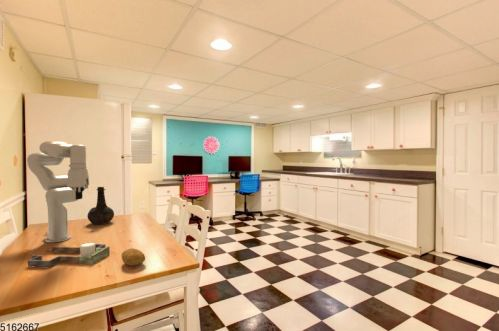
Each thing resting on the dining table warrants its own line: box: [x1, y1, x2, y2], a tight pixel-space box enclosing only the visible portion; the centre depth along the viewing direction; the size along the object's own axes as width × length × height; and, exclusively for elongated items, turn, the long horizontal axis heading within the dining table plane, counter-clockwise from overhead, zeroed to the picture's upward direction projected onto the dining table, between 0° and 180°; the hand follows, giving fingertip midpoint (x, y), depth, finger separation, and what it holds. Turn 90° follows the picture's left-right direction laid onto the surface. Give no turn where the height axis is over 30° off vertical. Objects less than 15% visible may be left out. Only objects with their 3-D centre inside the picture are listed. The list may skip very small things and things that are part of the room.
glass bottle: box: [87, 186, 115, 226], centre depth 198 cm, size 18×18×28 cm
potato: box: [121, 248, 146, 267], centre depth 124 cm, size 9×13×7 cm
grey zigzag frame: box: [27, 243, 111, 269], centre depth 132 cm, size 32×24×4 cm
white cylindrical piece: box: [79, 242, 97, 257], centre depth 131 cm, size 7×7×7 cm
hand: (79, 198), depth 147 cm, fingers closed
